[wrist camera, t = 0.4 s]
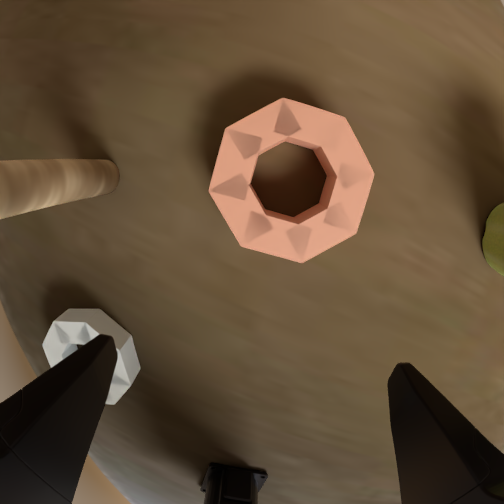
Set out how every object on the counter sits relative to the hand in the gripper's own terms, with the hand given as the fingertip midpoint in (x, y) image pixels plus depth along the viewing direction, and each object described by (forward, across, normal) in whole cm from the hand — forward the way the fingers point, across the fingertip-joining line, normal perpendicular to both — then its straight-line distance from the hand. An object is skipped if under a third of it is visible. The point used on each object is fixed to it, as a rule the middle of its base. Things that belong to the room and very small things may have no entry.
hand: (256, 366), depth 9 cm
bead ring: (+14, -2, -2) cm, 15 cm away
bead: (+11, +13, +13) cm, 22 cm away
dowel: (+14, +12, -1) cm, 19 cm away
